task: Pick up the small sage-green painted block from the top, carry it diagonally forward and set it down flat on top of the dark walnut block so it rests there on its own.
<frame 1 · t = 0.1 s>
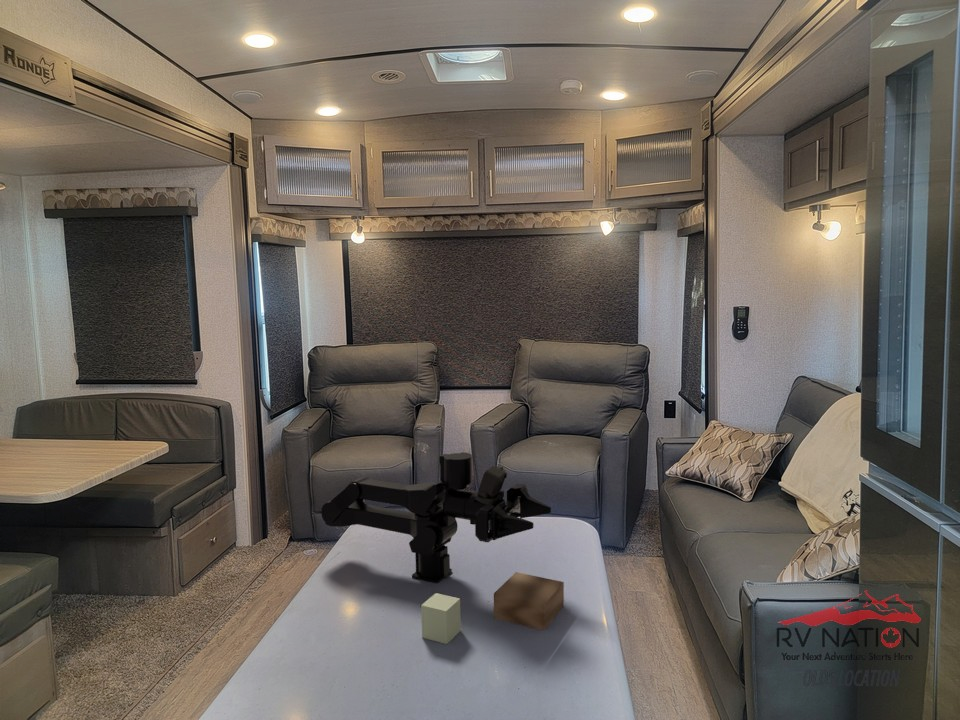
hand: (542, 517, 127), 16 cm above the table, tool horizontal, fingers open, 9 cm apart
sage block: (441, 634, 117), on the table
walnut block: (529, 612, 124), on the table
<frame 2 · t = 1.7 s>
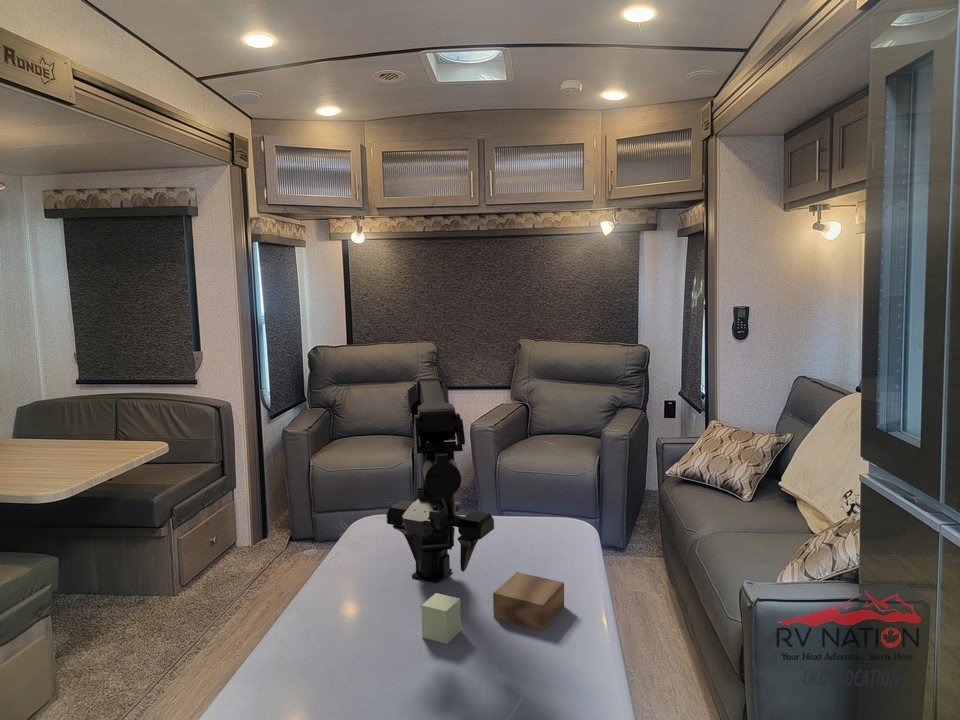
hand: (440, 565, 115), 13 cm above the table, tool pointing down, fingers open, 9 cm apart
nothing on the table moved.
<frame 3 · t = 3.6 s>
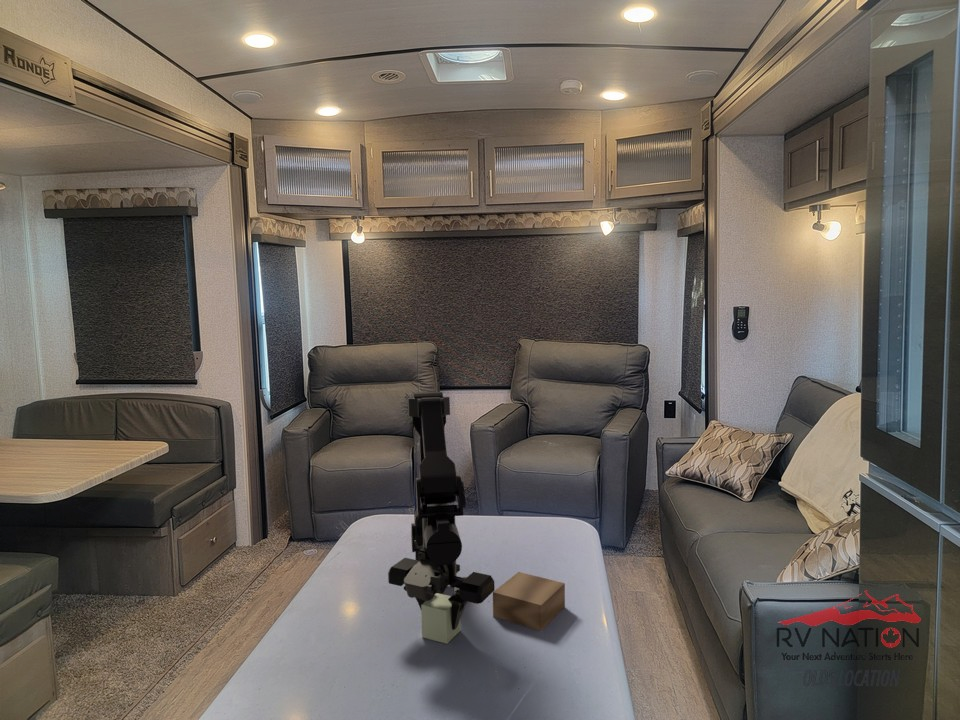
hand: (441, 625, 117), 2 cm above the table, tool pointing down, fingers closed on sage block, 5 cm apart
sage block: (441, 633, 117), on the table, touching gripper
everything else where it was.
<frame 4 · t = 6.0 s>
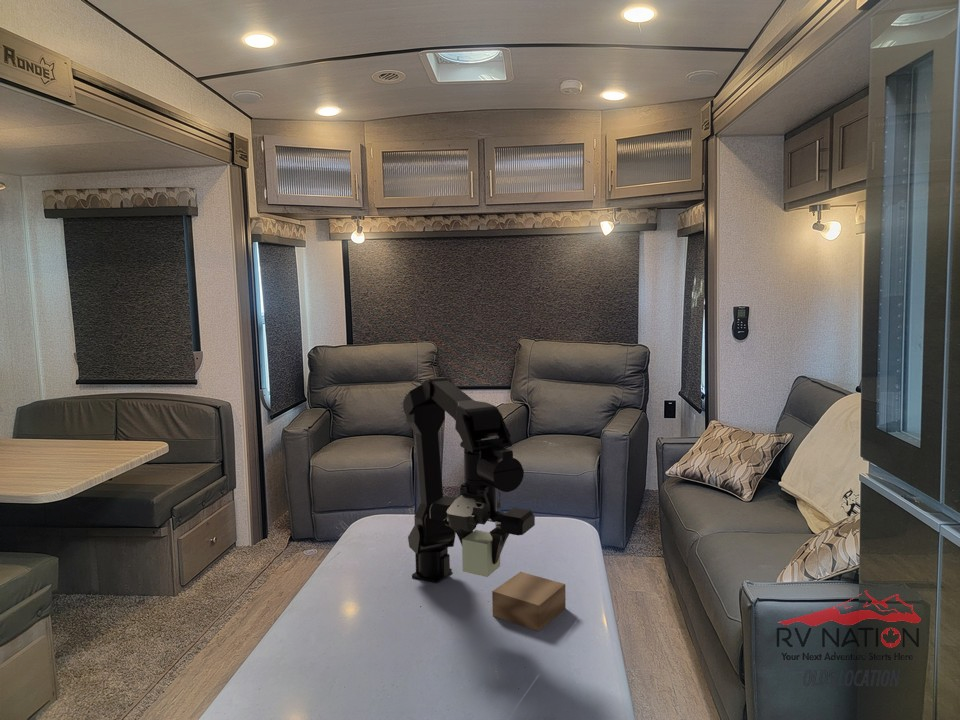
hand: (481, 560, 119), 12 cm above the table, tool pointing down, fingers closed on sage block, 5 cm apart
sage block: (481, 568, 119), point 10 cm above the table, touching gripper
everything else where it was.
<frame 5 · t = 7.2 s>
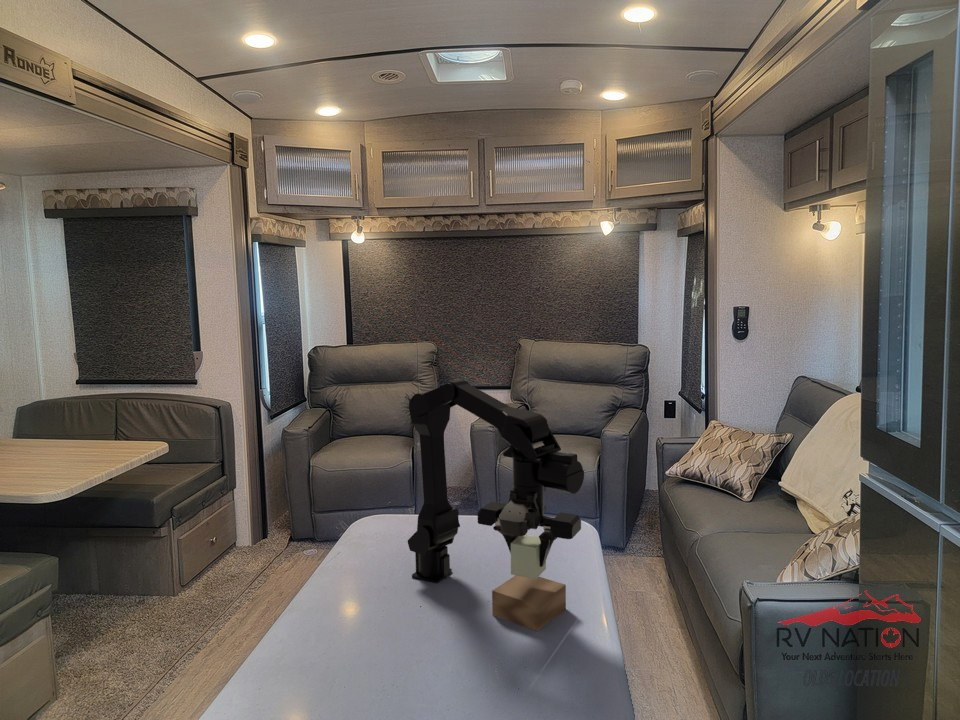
hand: (528, 563, 123), 9 cm above the table, tool pointing down, fingers closed on sage block, 5 cm apart
sage block: (528, 571, 123), point 8 cm above the table, touching gripper
everything else where it was.
when the fingers open (8 cm above the table, at t = 8.3 s): sage block drops 2 cm, resting on walnut block.
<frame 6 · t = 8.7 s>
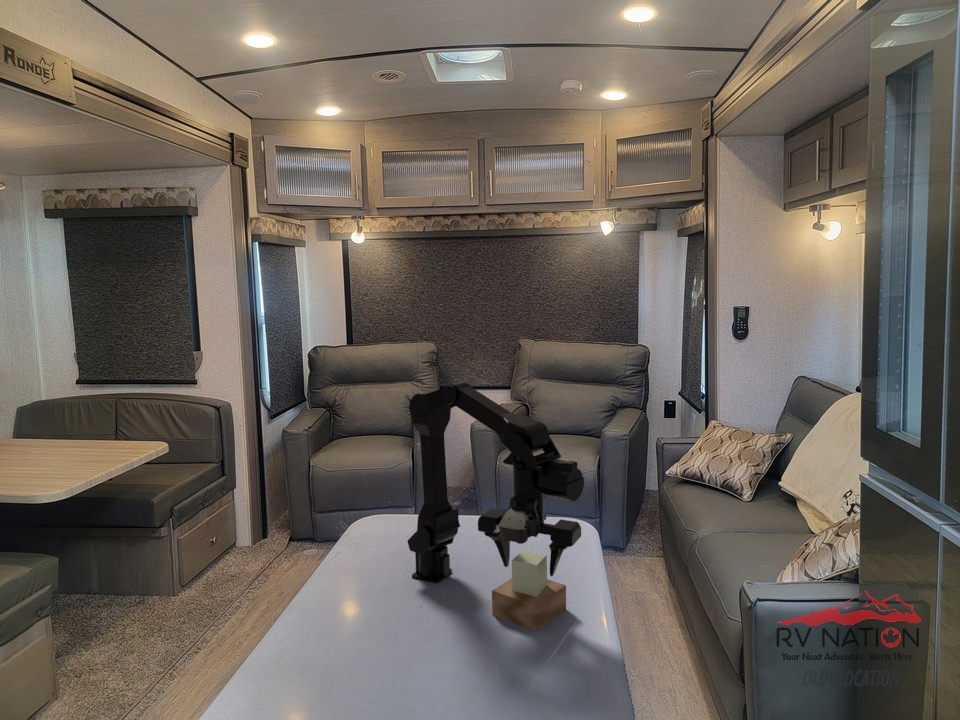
hand: (528, 570, 123), 8 cm above the table, tool pointing down, fingers open, 9 cm apart
sage block: (529, 588, 124), point 5 cm above the table, touching walnut block
walnut block: (529, 613, 124), on the table, touching sage block
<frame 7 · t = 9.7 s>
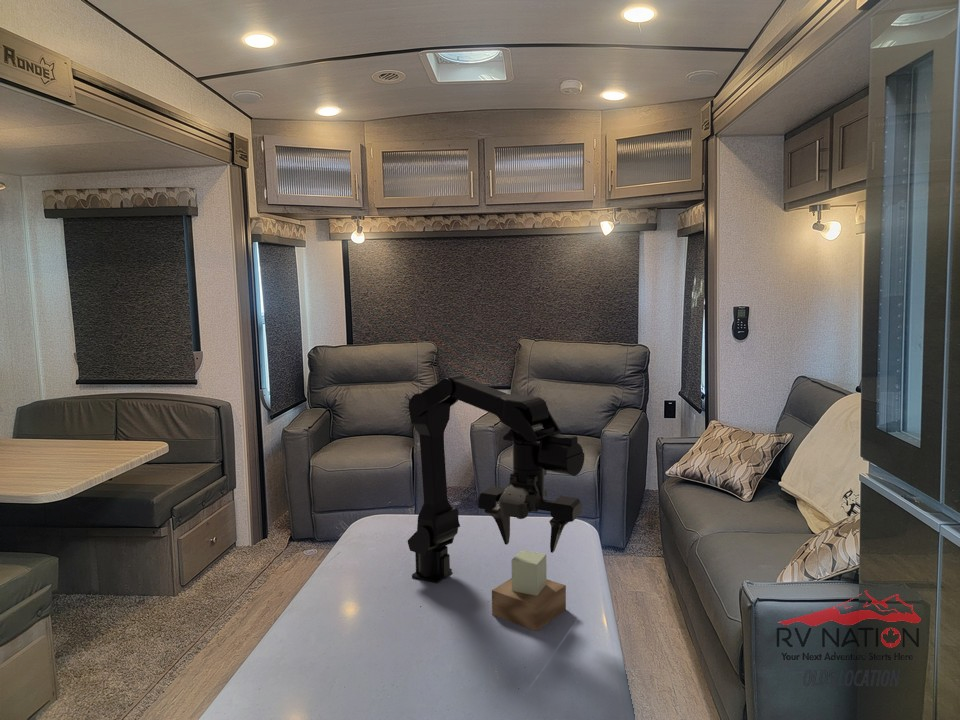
hand: (529, 547, 123), 12 cm above the table, tool pointing down, fingers open, 9 cm apart
sage block: (529, 587, 124), point 5 cm above the table
walnut block: (529, 612, 124), on the table
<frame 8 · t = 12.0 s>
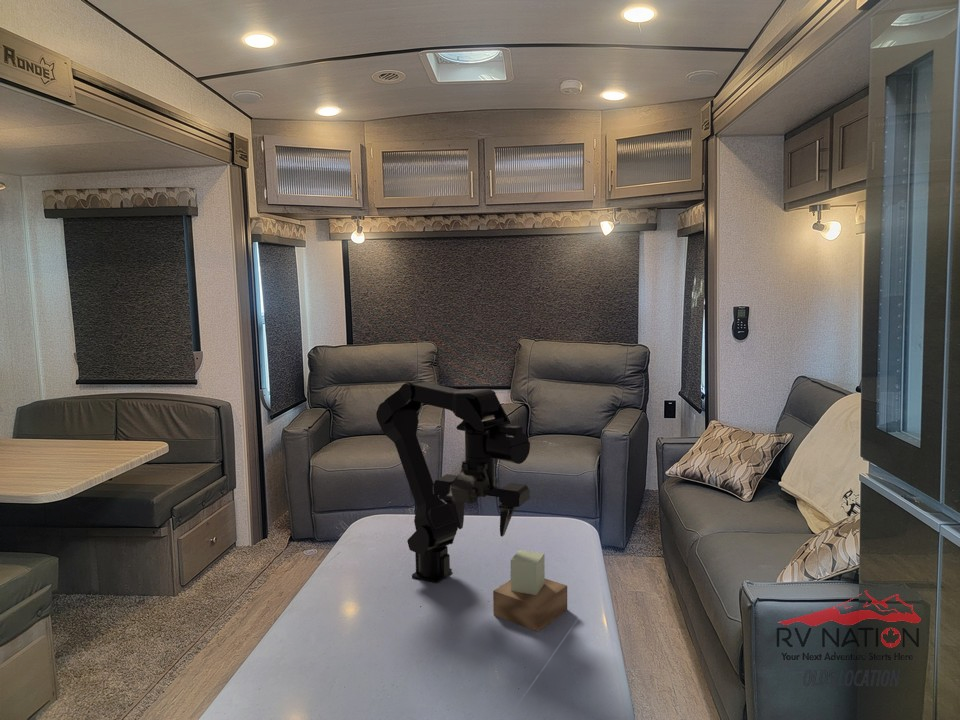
hand: (481, 532, 129), 13 cm above the table, tool pointing down, fingers open, 9 cm apart
nothing on the table moved.
at the end: sage block 0.6 cm off-centre on the walnut block, point 5.0 cm above the walnut block's base; sage block tilted 0°; the gripper is holding nothing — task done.
